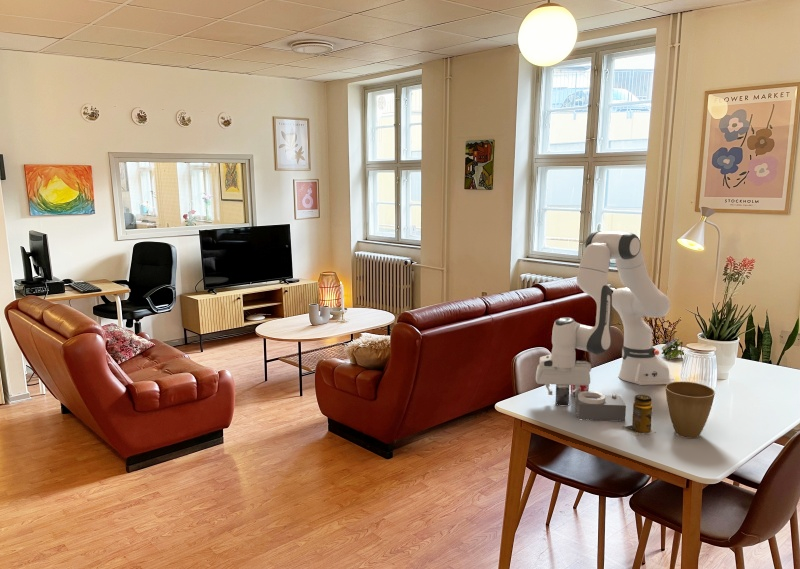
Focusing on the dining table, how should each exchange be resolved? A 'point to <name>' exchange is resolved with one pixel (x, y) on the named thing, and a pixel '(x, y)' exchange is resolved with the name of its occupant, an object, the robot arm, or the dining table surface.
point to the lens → (562, 394)
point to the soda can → (581, 389)
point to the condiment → (641, 416)
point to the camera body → (599, 406)
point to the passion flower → (668, 349)
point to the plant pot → (689, 407)
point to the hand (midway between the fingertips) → (562, 395)
